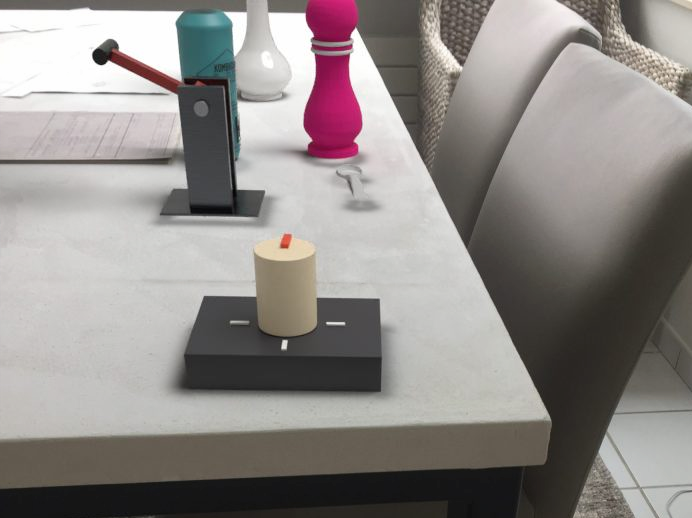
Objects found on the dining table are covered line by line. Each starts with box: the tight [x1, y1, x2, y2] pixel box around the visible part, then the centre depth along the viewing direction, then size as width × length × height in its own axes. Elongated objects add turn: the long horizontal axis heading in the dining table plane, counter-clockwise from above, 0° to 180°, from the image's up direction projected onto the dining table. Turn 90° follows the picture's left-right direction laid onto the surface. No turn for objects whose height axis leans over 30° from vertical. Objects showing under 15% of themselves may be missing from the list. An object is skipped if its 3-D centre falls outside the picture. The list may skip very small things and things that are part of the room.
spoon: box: [336, 163, 369, 199], centre depth 101 cm, size 3×12×2 cm, turn 10°
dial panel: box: [183, 295, 383, 393], centre depth 68 cm, size 14×10×3 cm
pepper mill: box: [302, 0, 364, 160], centre depth 105 cm, size 7×7×20 cm
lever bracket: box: [159, 76, 266, 218], centre depth 91 cm, size 10×8×13 cm
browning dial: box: [253, 233, 318, 337], centre depth 65 cm, size 4×4×6 cm
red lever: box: [91, 38, 205, 96], centre depth 87 cm, size 12×5×2 cm, turn 91°
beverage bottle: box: [174, 7, 242, 159], centre depth 101 cm, size 6×7×20 cm
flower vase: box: [234, 0, 293, 102], centre depth 129 cm, size 13×18×25 cm
